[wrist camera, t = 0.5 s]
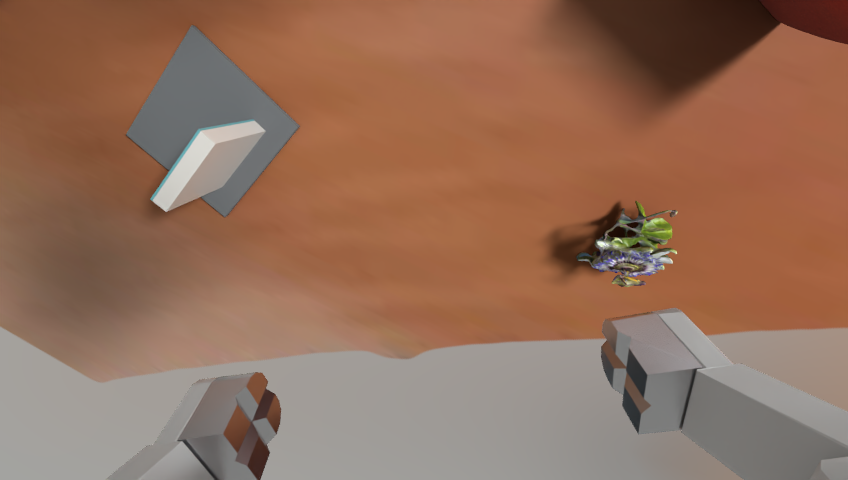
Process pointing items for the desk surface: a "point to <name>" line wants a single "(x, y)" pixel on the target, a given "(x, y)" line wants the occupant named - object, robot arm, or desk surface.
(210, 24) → the desk surface
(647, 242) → the passion flower
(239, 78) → the mat
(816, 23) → the plant pot
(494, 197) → the desk surface
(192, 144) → the tile
